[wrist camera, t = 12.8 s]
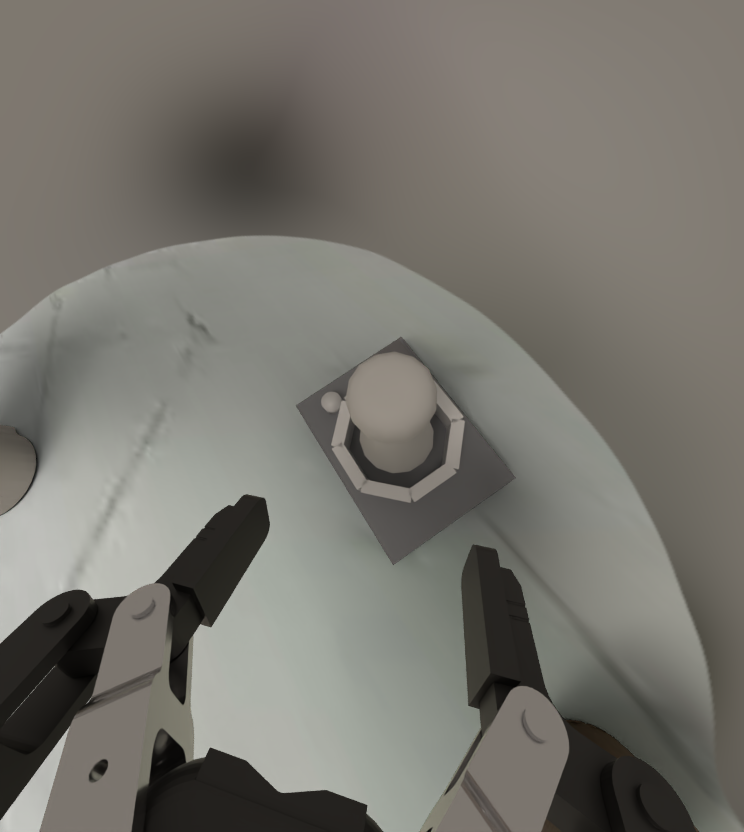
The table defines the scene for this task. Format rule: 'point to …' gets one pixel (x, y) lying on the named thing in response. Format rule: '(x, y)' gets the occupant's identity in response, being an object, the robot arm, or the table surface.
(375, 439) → the salt shaker
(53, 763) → the table surface
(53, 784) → the robot arm
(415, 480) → the octagon ring base
